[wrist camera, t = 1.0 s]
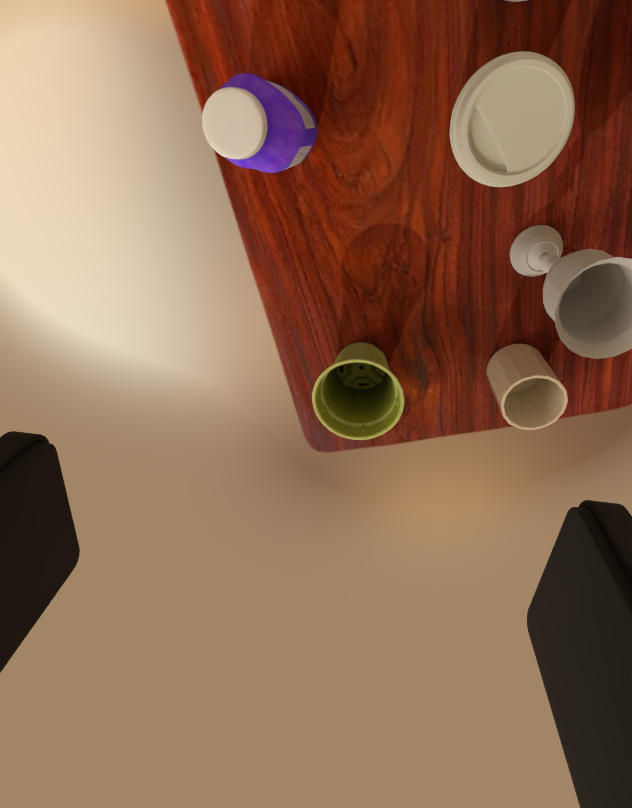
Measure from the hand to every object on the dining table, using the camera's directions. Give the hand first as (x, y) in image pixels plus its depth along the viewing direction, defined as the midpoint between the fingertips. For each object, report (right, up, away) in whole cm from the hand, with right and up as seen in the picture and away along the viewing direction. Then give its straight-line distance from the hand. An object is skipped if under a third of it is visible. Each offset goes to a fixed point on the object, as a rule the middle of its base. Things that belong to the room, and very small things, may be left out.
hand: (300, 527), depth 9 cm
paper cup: (+23, +6, +47) cm, 52 cm away
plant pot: (+6, +7, +49) cm, 50 cm away
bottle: (-3, +29, +38) cm, 47 cm away
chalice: (+22, +18, +40) cm, 50 cm away
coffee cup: (+16, +28, +36) cm, 48 cm away
